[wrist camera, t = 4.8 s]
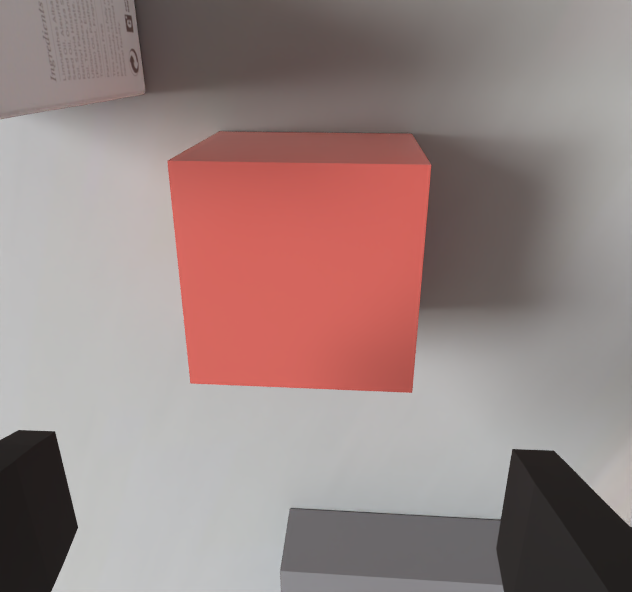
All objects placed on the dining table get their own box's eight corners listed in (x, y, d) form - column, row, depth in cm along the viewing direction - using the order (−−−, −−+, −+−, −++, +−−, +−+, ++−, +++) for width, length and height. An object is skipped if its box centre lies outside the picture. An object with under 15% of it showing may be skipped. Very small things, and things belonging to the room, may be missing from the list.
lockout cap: (411, 133, 17) (431, 164, 12) (399, 310, 19) (411, 392, 14) (219, 131, 17) (167, 161, 12) (230, 304, 19) (190, 383, 15)
